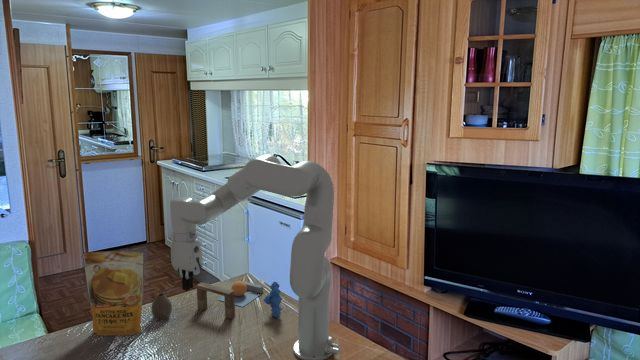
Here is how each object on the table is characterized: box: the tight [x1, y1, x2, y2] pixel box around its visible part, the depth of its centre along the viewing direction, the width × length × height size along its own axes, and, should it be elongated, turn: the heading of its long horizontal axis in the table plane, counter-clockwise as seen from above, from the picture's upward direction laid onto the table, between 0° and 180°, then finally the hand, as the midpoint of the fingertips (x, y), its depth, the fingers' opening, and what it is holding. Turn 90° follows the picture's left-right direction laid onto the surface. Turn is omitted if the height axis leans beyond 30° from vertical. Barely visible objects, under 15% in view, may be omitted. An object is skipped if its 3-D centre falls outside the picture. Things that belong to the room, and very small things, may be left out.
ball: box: [230, 280, 248, 297], centre depth 179 cm, size 6×6×6 cm
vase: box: [150, 292, 173, 321], centre depth 162 cm, size 7×7×9 cm
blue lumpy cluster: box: [263, 281, 283, 318], centre depth 164 cm, size 12×7×12 cm, turn 12°
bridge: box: [196, 281, 236, 320], centre depth 165 cm, size 3×15×10 cm, turn 62°
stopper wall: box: [242, 280, 264, 294], centre depth 184 cm, size 10×2×2 cm, turn 62°
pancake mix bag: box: [81, 250, 146, 337], centre depth 150 cm, size 7×19×28 cm, turn 92°
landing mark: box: [217, 293, 261, 308], centre depth 178 cm, size 12×12×1 cm
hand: (187, 288), depth 150 cm, fingers closed
